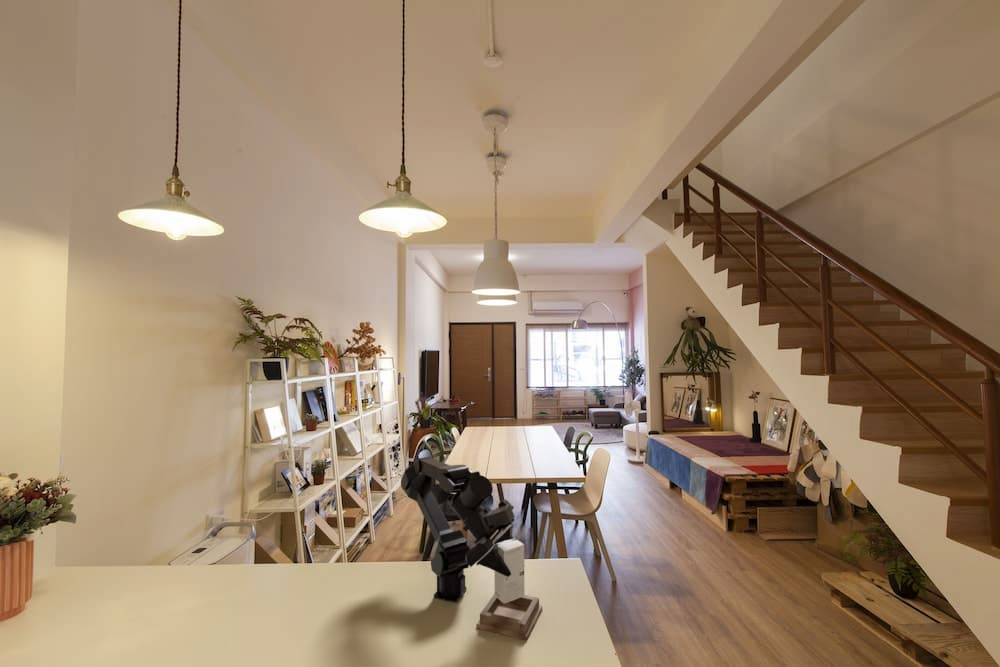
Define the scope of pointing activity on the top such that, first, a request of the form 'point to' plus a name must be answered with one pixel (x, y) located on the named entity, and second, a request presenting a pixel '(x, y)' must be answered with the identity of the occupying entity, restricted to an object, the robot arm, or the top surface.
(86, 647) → the top surface
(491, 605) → the walnut holder
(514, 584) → the skincare box
